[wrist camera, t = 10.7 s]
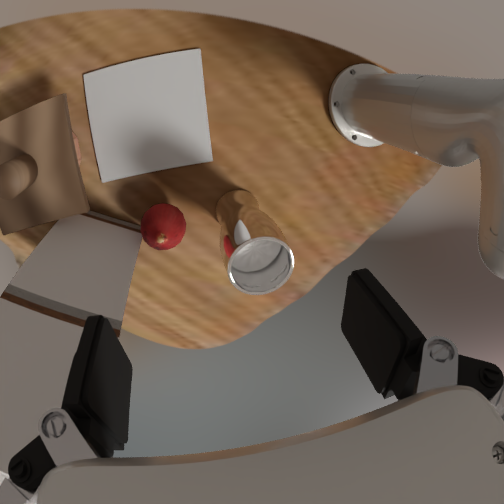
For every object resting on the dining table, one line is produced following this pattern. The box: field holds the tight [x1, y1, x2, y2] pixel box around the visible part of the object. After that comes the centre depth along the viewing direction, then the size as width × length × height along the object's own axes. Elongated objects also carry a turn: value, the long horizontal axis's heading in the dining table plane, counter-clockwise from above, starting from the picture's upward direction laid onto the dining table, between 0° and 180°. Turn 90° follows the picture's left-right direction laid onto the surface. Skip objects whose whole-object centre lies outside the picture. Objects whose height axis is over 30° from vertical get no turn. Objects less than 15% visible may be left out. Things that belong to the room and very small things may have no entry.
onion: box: [140, 203, 186, 250], centre depth 36 cm, size 6×6×8 cm
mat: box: [83, 49, 213, 183], centre depth 32 cm, size 15×15×1 cm
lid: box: [0, 94, 90, 235], centre depth 24 cm, size 14×14×6 cm
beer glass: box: [216, 190, 294, 295], centre depth 35 cm, size 7×7×15 cm
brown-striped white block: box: [0, 210, 142, 485], centre depth 25 cm, size 11×11×35 cm
